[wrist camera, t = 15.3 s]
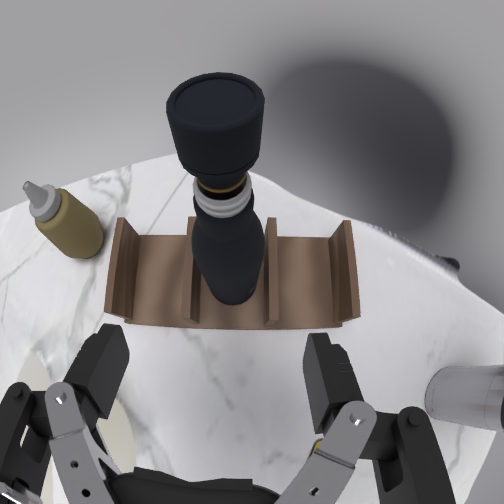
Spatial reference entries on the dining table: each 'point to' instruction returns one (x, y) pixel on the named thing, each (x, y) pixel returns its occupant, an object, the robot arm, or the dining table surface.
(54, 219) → the squeeze bottle
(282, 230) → the dining table surface
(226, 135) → the black bottle
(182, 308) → the slot rack
